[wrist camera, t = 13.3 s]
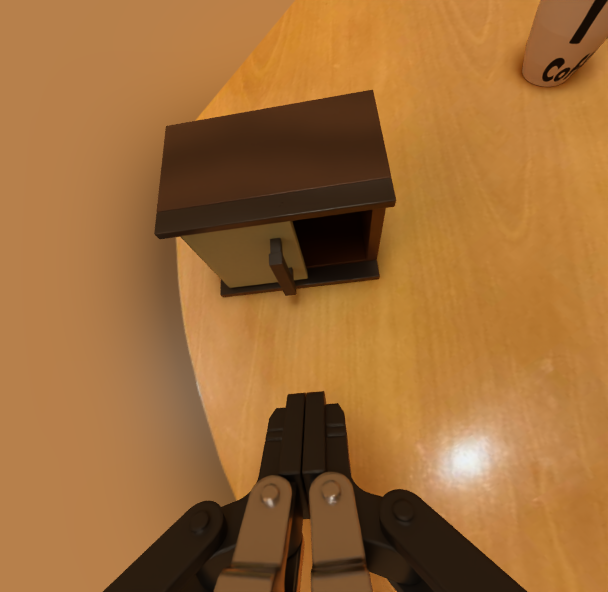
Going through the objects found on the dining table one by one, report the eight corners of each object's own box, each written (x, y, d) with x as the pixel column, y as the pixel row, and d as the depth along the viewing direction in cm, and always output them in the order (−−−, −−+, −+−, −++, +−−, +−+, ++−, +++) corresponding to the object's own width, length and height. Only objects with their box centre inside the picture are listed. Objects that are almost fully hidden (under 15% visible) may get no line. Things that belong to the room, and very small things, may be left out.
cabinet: (379, 279, 31) (396, 200, 20) (222, 297, 33) (153, 234, 21) (365, 197, 35) (373, 89, 23) (224, 217, 36) (165, 125, 25)
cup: (530, 104, 36) (593, -2, 27) (495, 60, 39) (540, -50, 30) (600, 82, 36) (687, -34, 27) (559, 39, 39) (625, -79, 30)
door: (309, 300, 31) (291, 248, 21) (229, 309, 31) (175, 263, 22) (307, 271, 32) (288, 208, 22) (229, 281, 32) (178, 224, 23)
